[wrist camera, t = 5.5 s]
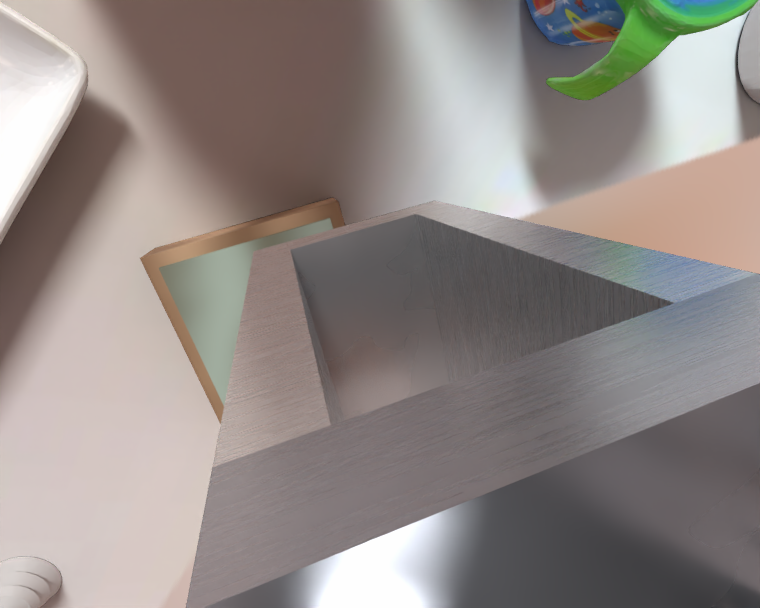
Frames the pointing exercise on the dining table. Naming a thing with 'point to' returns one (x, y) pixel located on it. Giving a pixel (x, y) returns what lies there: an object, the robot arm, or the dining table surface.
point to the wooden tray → (223, 285)
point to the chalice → (27, 582)
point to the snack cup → (624, 33)
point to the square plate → (32, 105)
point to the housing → (486, 424)
